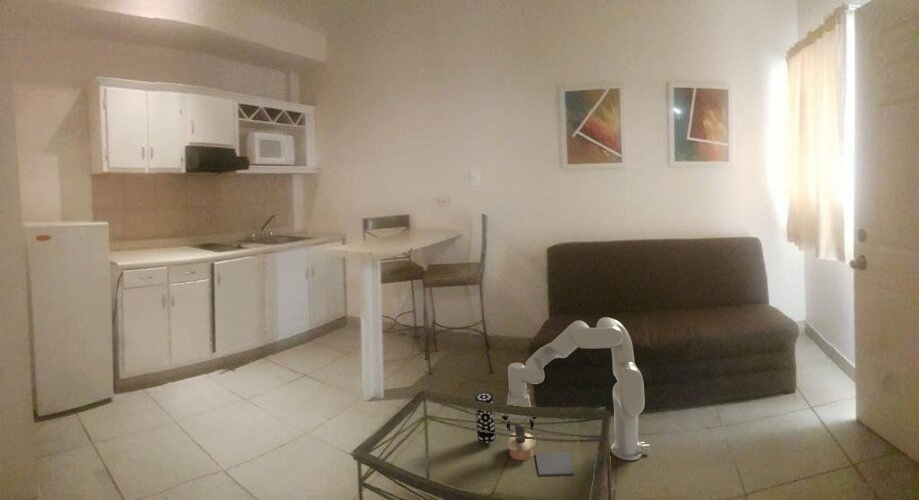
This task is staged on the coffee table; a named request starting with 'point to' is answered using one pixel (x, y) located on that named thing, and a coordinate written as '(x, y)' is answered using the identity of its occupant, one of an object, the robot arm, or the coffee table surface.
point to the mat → (554, 464)
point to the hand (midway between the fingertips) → (520, 428)
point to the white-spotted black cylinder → (485, 419)
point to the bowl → (521, 454)
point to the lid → (520, 440)
